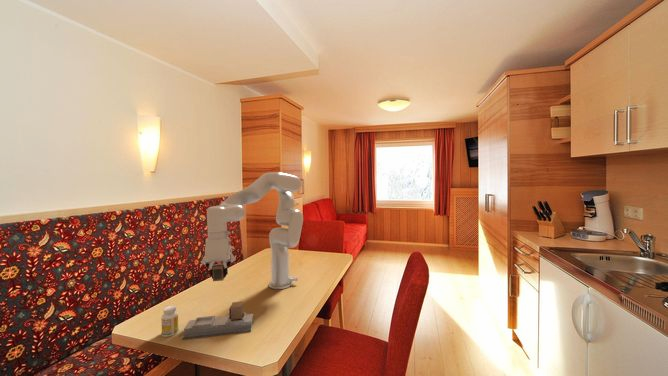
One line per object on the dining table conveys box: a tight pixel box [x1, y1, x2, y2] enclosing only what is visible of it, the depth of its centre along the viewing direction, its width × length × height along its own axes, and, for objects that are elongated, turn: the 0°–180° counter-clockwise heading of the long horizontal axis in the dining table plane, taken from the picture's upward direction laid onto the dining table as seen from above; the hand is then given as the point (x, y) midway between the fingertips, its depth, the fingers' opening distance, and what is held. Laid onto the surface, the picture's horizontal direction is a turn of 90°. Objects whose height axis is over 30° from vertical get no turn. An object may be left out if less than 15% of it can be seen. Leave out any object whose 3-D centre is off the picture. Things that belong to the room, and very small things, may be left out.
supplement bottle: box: [161, 305, 179, 338], centre depth 98 cm, size 5×5×10 cm
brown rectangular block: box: [212, 263, 225, 282], centre depth 111 cm, size 5×4×6 cm
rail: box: [181, 301, 255, 341], centre depth 101 cm, size 24×10×9 cm, turn 102°
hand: (219, 276), depth 112 cm, fingers closed on brown rectangular block, 4 cm apart
